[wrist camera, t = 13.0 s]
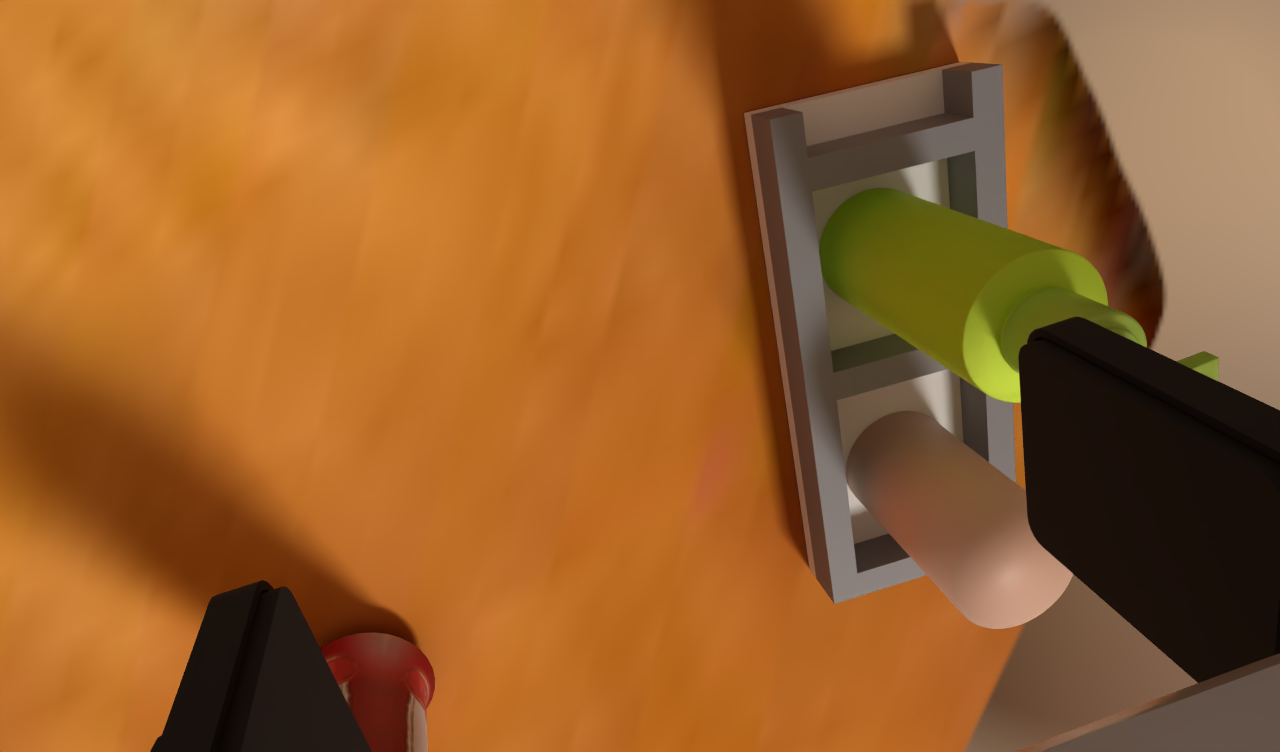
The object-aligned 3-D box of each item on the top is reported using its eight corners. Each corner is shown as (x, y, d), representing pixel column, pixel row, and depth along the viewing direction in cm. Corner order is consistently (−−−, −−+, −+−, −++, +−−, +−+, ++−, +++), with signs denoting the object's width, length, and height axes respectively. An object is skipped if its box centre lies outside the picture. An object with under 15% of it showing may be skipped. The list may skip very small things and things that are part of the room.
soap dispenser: (789, 212, 43) (1056, 351, 25) (922, 173, 44) (1275, 280, 25) (808, 324, 45) (1063, 526, 27) (933, 285, 46) (1264, 456, 28)
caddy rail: (743, 113, 42) (855, 142, 31) (959, 62, 43) (1140, 72, 32) (809, 568, 52) (910, 712, 41) (982, 515, 53) (1125, 641, 42)
